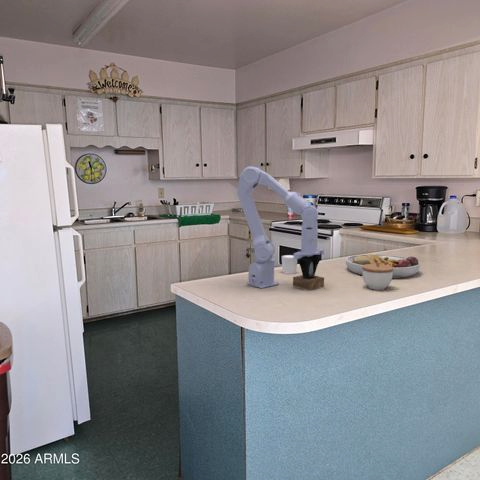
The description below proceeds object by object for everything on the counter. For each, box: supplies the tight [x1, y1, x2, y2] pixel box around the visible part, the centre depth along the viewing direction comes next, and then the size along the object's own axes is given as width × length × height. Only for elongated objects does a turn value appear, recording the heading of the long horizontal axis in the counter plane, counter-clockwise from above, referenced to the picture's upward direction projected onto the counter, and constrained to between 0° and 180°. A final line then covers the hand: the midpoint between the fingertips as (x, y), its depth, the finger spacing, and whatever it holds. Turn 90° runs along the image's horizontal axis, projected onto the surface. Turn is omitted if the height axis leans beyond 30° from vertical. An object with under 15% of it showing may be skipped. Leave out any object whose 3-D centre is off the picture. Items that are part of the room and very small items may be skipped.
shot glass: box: [281, 254, 298, 275], centre depth 177 cm, size 7×7×7 cm
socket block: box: [292, 274, 325, 291], centre depth 153 cm, size 8×8×4 cm
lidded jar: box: [361, 262, 393, 291], centre depth 151 cm, size 11×11×9 cm
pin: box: [305, 261, 314, 279], centre depth 153 cm, size 3×3×8 cm
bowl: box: [345, 253, 421, 279], centre depth 178 cm, size 30×30×8 cm
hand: (308, 275), depth 153 cm, fingers closed on pin, 3 cm apart
